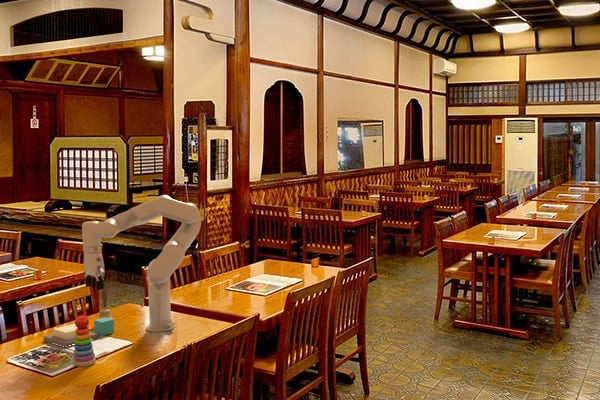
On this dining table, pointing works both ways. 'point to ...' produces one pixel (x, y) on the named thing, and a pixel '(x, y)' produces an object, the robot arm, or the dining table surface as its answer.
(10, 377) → the dining table surface
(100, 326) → the teal cube
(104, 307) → the hand bell
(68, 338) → the stack base
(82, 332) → the stacking toy
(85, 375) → the dining table surface
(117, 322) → the dining table surface
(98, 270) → the robot arm
